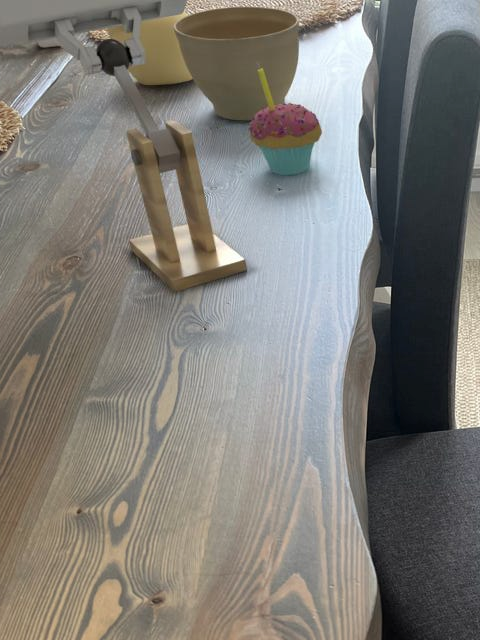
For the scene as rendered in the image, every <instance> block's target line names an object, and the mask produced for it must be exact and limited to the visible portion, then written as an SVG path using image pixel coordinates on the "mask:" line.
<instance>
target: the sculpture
mask: <svg viewBox="0 0 480 640" xmlns="http://www.w3.org/2000/svg"><path fill="white" fill-rule="evenodd" d="M188 15H189V14H188V13H187V12H186V11H184V12H183V13H182V14H180V15H175V16H169V17H164V18H158V19H153V20H148V21H142V22H141V27H140V38H139V40H140V42H141V44H142V46H143V48H144V50H145V54H146V61H145V64H140V65H135V66H130V65H129V68H128V70H127V71H128V73H129V74H130V75H131V77H133V78H134V79H135V80H136V81H137V82H139V83H140V85H141V84H142V85H144V86H163V85H173V84H175V85H176V84H180V83H181V84H182V83H185V82H188V81H189V82H190V81H192V80H193V78H192V76H191V74H190V73H189V71H188V69H187V66H186V64H185V61H184V59H183V56H182V53H181V49H180V45H179V41H178V39H177V37H176V34H175V31H174V24H175V23H176V22H177V21H178V20H180V19H181V18H183V17H185V16H188ZM107 34H108V36H109V39H114V40H117V41H119V42H120V43H122V44H123V45H124V41H125V40H128V39H132V32H131V33H126V31H125V29H124V27H123V25H121V26H116V27H111V28H107ZM124 46H125V45H124Z"/></svg>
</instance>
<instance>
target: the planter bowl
mask: <svg viewBox="0 0 480 640" xmlns="http://www.w3.org/2000/svg"><path fill="white" fill-rule="evenodd" d="M299 22H300V21H299V18H298V16H297V15H296V14H295V13H292V12H290V11H287V10H285V9H281V8H274V7H266V6H264V7H263V6H229V7H219V8H212V9H206V10H202V11H196V12H193V13H191V14H188V16H185V17H183V18H181V19H180V20H178V21H177V22H176V23H175V24H174V31H175V34H176V37H177V39H178V41H179V45H180V49H181V53H182V56H183V59H184V61H185V64H186V66H187V69H188V71H189V73H190V74H191V76H192V78H193V79H192V80H193V81H194V83H195V84H196V86H197V88H198V89H199V91H201V93H202V94H203V95H204V97H205V98H206V99H207V100H208V101H209V102H210V103H211V104H212V107H213V110H214V112H215V114H216V115H217V116H218V117H220V118H223V119H226V120H233V121H246V122H247V121H248V122H251V121H252V119H253V118H254V117H255V116H254V115H256V114H257V113H258V112H259V111H261V110H262V109H265V108H266V107H269V106H268V103H267V99H266V96H265V93H264V90H263V86H262V83H261V80H260V77H259V73H258V70H259V68H258V65H257V63H256V62H258V63H259V66H260V68H261V69H263V70H264V74H265V77H266V80H267V84H268V87H269V90H270V94H271V97H272V100H273V103H274V104H276V105H278V104H286V102H285V101H286V97H287V95H288V93H289V92H290V89H291V87H292V85H293V81H294V80H295V76H296V73H297V68H298V63H299V56H300V40H299V29H300V23H299Z"/></svg>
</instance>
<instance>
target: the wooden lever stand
mask: <svg viewBox="0 0 480 640" xmlns="http://www.w3.org/2000/svg"><path fill="white" fill-rule="evenodd" d="M164 125H165V129H166V128H167V129H168V130H169V132H170V134H171V136H172V138H173V139H174V141H175V143H176V145H177V147H178V149H179V151H180V167H179V169H175V170H174V171H175V173H176V179H177V183H178V187H179V191H180V196H181V200H182V204H183V209H184V213H185V218H186V223H187V224H186V223H185V224H182V225H178V226H175V227H173V224H172V219H171V215H170V211H169V206H168V202H167V198H166V194H165V189H164V186H163V182H162V177H161V173H160V172H159V168H158V164H157V160H156V156H155V151H154V147H153V143H152V141H151V140H149V139H148V138H147V137H146V135H144V134H143V133H142V132H140V131H139V130H138V129H136V128H132V129H127V130H126V131H125V133H126V138H127V141H128V145H129V149H130V156H131V159H132V162H133V165H134V169H135V172H136V177H137V181H138V184H139V188H140V189H139V190H140V193H141V197H142V201H143V204H144V209H145V213H146V216H147V220H148V224H149V228H150V231H151V232H150V234H146V235H145V234H144V235H142V236H139V237H135V238H131V239H129V240H128V242H129V246H130V249H131V250H130V251H132V253H134V255H136V256H137V258H139V259H140V260H141V261H142V262H143V263H144V264H145V265H146V266H147V267H148V268H149V269H150V270H151V271H152V272H153V273H155V274H156V276H158V277H159V278H160V280H162V281H163V282H164V283H165V284H166V285H167V286H168V287H169V288H170V289H171V290H172V291H173V292H175V293H176V292H180V291H182V290H185V289H189V288H192V287H196V286H200V285H203V284H206V283H207V284H208V283H209V282H213V281H216V280H219V279H223V278H228V277H230V276H232V275H237V274H240V273H243V272H247V271H248V267H247V261H246V259H245V258H244V257H243V256H242V255H241V254H239V253H238V252H236V250H234V249H233V248H232V247H231V246H230V245H228V244H227V243H226V242H225V241H223V240H222V239H221V238H220V237H218V236H217V235H216V234H215V233H214V232H213V227H212V222H211V217H210V213H209V209H208V204H207V203H208V202H207V199H206V193H205V189H204V185H203V178H202V175H201V170H200V166H199V159H198V156H197V151H196V145H195V141H194V137H193V132H192V131H190V130H189V129H188V128H186V127H185V126H183V125H182V124H181V123H179V122H177V121H176V120H175V119H173V120H172V119H171V120H168V121H167V120H166V121H165V122H164Z"/></svg>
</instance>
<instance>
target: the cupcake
mask: <svg viewBox="0 0 480 640" xmlns="http://www.w3.org/2000/svg"><path fill="white" fill-rule="evenodd" d="M256 63H257V65H258V68H259V70H258V73H259V77H260V80H261V83H262V86H263V90H264V93H265V96H266V99H267V103H268V106H269V107H266V108H265V109H262V110H261V111H259V112H258V113H257V114H256V115H254V116H255V117H254V118H253V119H252V120H250V121H249V123H248V126H249V127H248V130H249V138H250V141H251V143H253V144H255V145H256V147H259V149H260V151H261V153H262V154H263V156H264V158H265V160H266V162H267V164H268V167H269V170H270V171H271V172H272V173H273V174H276V175H279V176H296V175H299V174H303V173H305V172H306V171H308V170H309V169H310V166H311V161H312V159H311V158H312V153H313V148H314V145H315V143H317V142H318V141H319V140H320V138H321V136H322V133H323V130H322V126H321V124H320V123H321V122H320V120H319V119H318V118H317V115H316V114H315V113H313V112H312V110H309V109H308V108H306V107H305V106H304V105H301V104H296V103H291V102H288V103H285V104H278V105H276V104H274V103H273V100H272V97H271V94H270V90H269V87H268V84H267V80H266V77H265V74H264V70H263V69H261V68H260V66H259V63H258V62H256Z"/></svg>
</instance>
